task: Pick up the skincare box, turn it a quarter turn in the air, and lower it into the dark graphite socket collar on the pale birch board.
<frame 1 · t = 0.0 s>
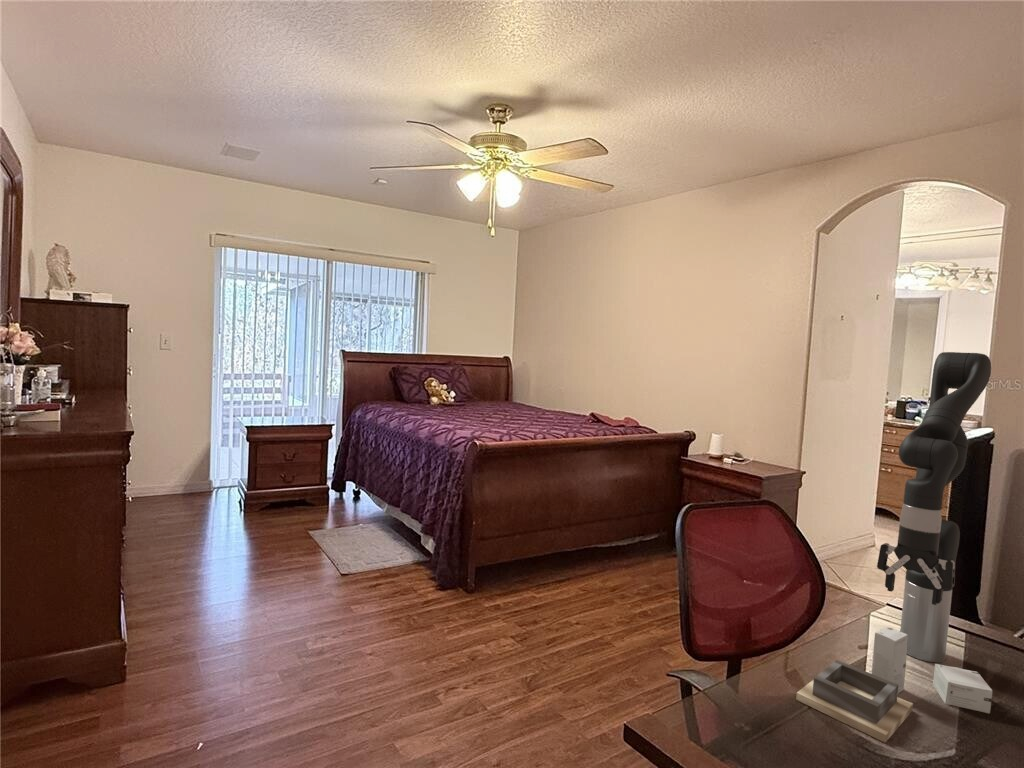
hand: (912, 597, 131), 17 cm above the table, tool pointing down, fingers open, 8 cm apart
small box: (960, 700, 122), on the table
keyed socket block: (853, 705, 117), on the table
skincare box: (886, 689, 124), on the table
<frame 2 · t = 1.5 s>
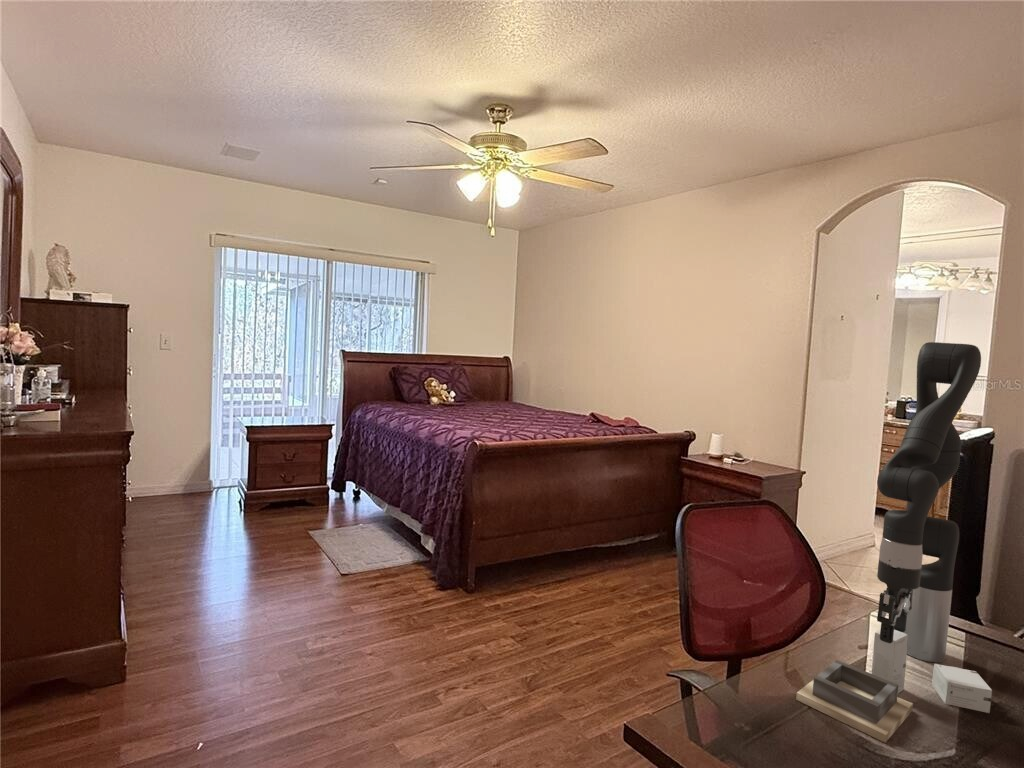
hand: (892, 636, 123), 12 cm above the table, tool pointing down, fingers open, 8 cm apart
nothing on the table moved.
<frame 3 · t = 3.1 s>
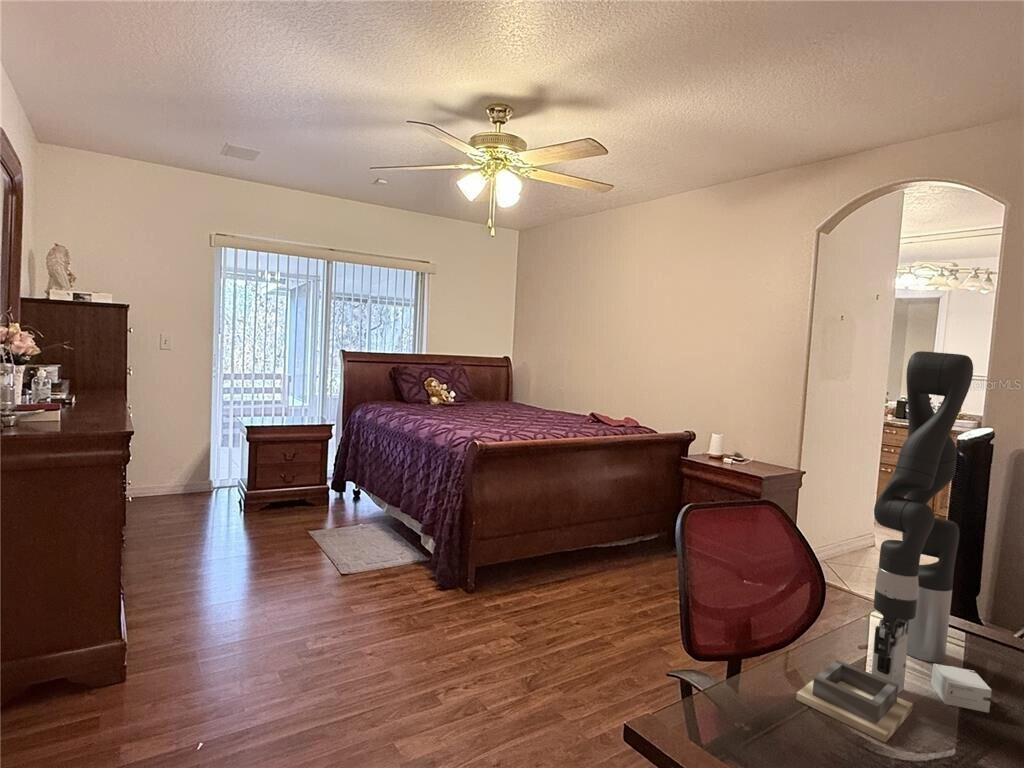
hand: (888, 667, 124), 5 cm above the table, tool pointing down, fingers closed on skincare box, 6 cm apart
skincare box: (886, 689, 124), on the table, touching gripper
everything else where it was.
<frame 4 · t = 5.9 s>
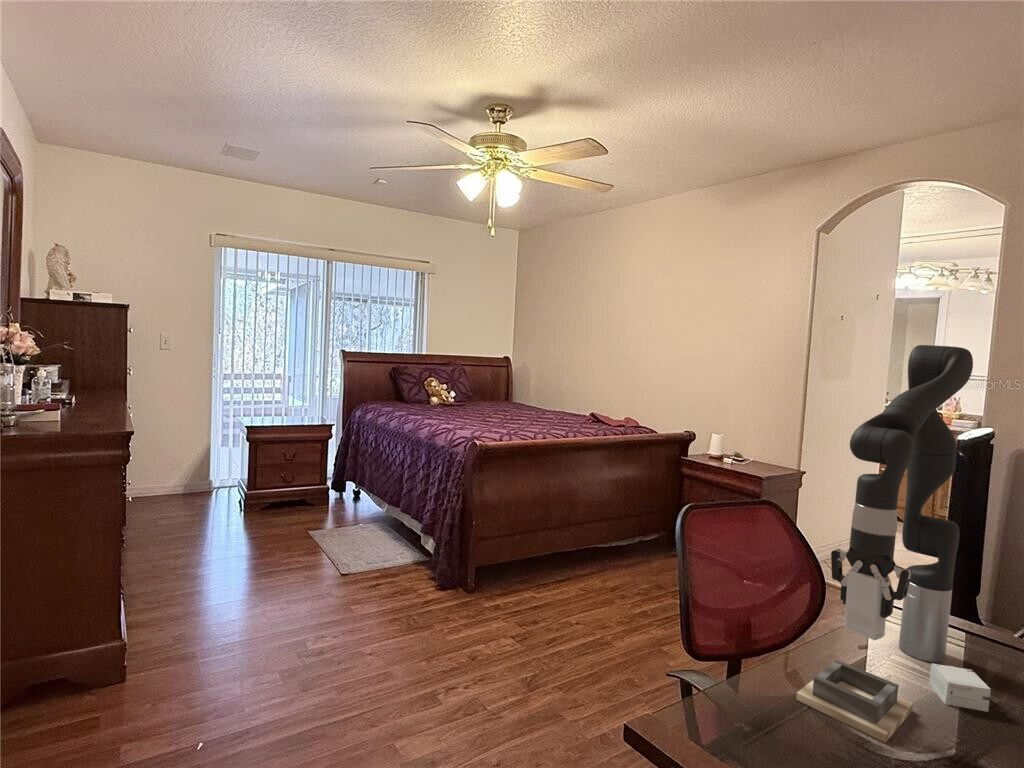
hand: (865, 609, 116), 20 cm above the table, tool pointing down, fingers closed on skincare box, 6 cm apart
skincare box: (862, 633, 116), point 15 cm above the table, touching gripper
everything else where it was.
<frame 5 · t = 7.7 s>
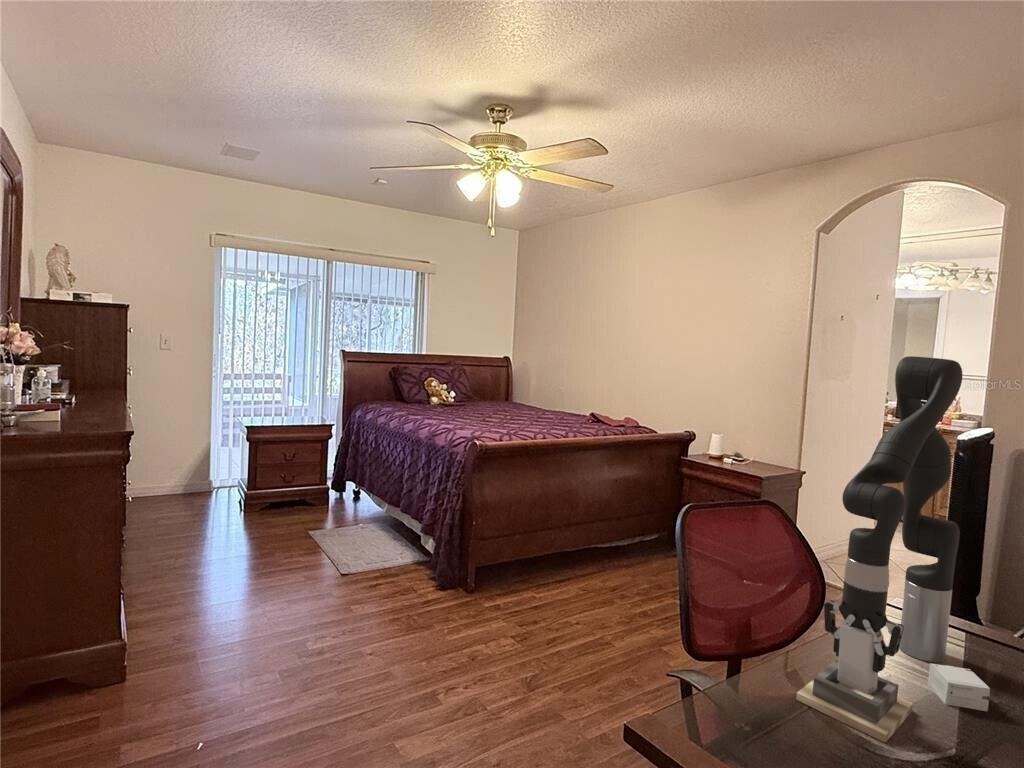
hand: (858, 662, 117), 9 cm above the table, tool pointing down, fingers closed on skincare box, 6 cm apart
skincare box: (855, 686, 117), point 4 cm above the table, touching gripper
everything else where it was.
when the fingers open (7 cm above the table, at t = 8.9 s): skincare box drops 1 cm, resting on keyed socket block.
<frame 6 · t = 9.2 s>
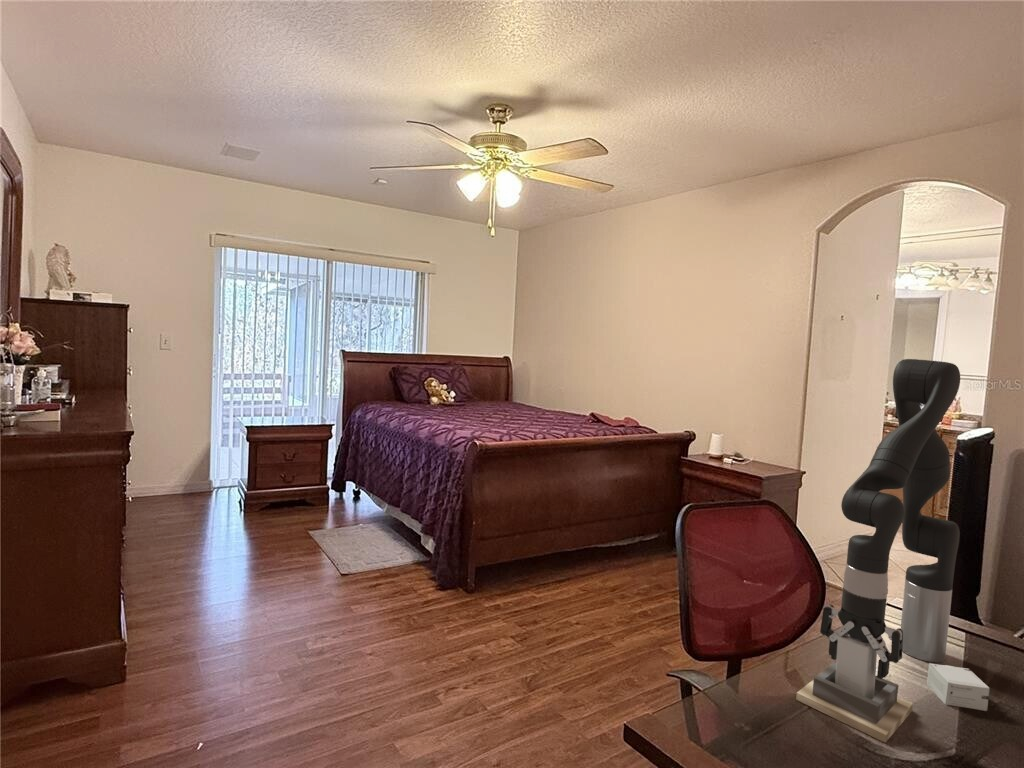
hand: (857, 667, 117), 8 cm above the table, tool pointing down, fingers open, 8 cm apart
skincare box: (852, 698, 118), point 1 cm above the table, touching keyed socket block
everything else where it was.
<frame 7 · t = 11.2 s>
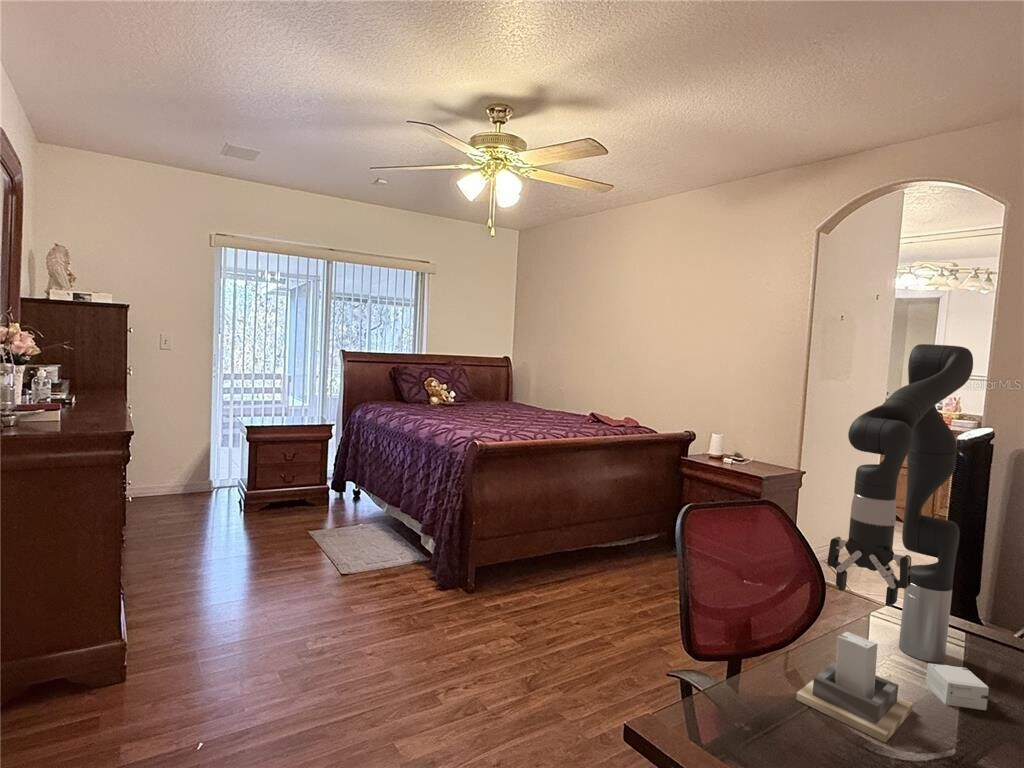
hand: (865, 597, 116), 22 cm above the table, tool pointing down, fingers open, 8 cm apart
nothing on the table moved.
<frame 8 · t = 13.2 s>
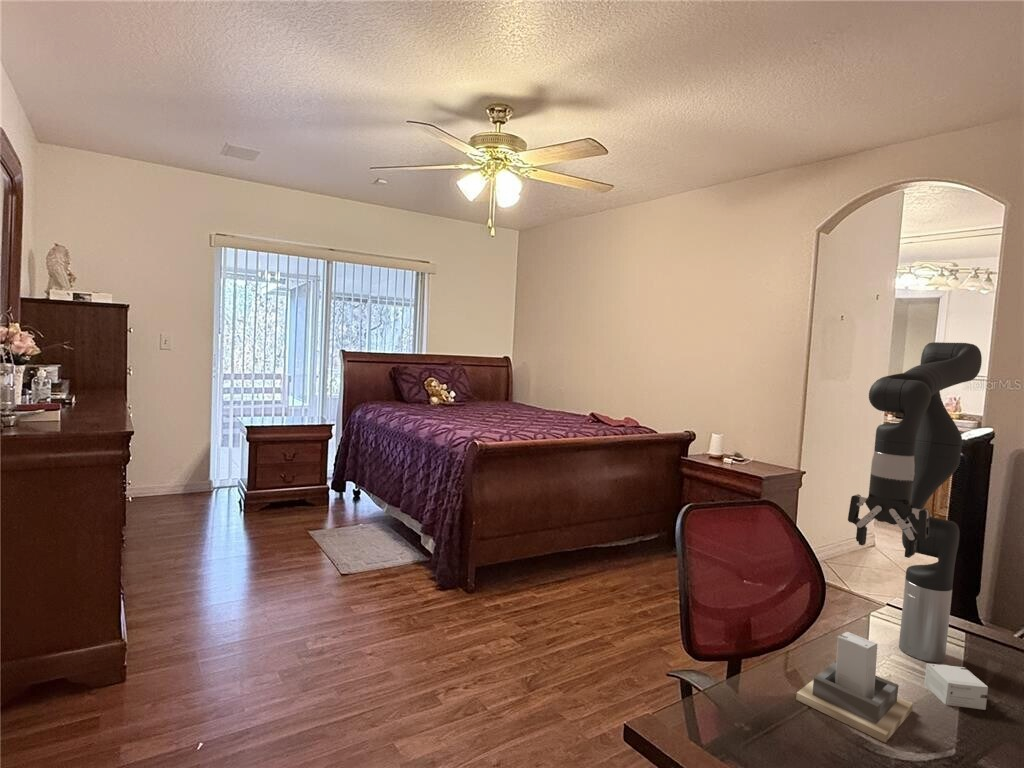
hand: (884, 550, 122), 30 cm above the table, tool pointing down, fingers open, 8 cm apart
at the end: skincare box 0.3 cm off-centre on the keyed socket block, point 1.3 cm above the keyed socket block's base; skincare box tilted 0°; the gripper is holding nothing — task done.
